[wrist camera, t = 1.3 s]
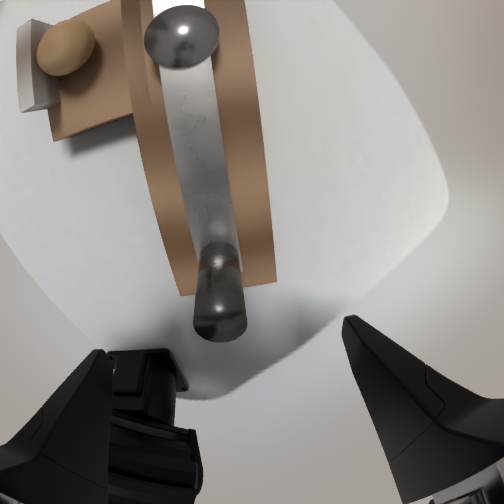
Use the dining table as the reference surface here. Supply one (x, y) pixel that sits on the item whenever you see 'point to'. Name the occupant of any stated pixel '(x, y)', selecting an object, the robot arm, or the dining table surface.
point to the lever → (200, 160)
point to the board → (155, 115)
